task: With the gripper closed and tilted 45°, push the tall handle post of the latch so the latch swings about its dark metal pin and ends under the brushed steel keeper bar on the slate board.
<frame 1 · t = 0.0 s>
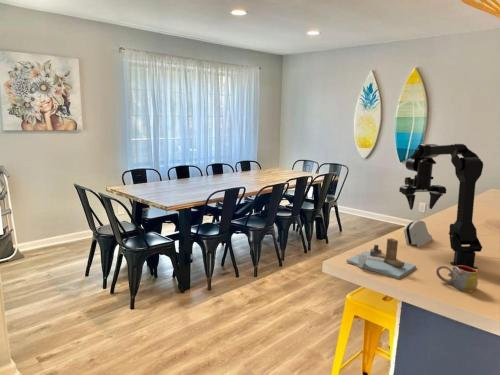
hand: (420, 209, 162), 15 cm above the table, tool pointing down, fingers open, 9 cm apart
latch: (386, 249, 138), point 6 cm above the table, hinge at 0.0°
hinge: (416, 241, 165), on the table
mug: (455, 286, 121), on the table
keeper: (375, 259, 143), resting on board
board: (380, 265, 137), on the table
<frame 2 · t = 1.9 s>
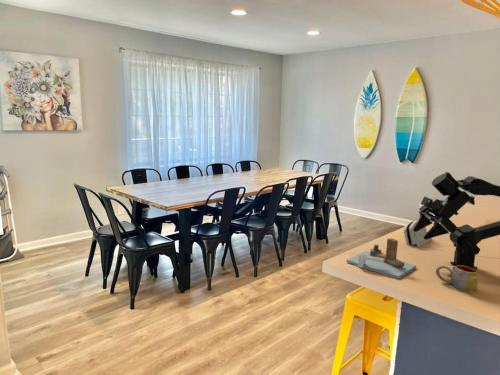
hand: (419, 234, 136), 12 cm above the table, tool tilted 45°, fingers open, 9 cm apart
nothing on the table moved.
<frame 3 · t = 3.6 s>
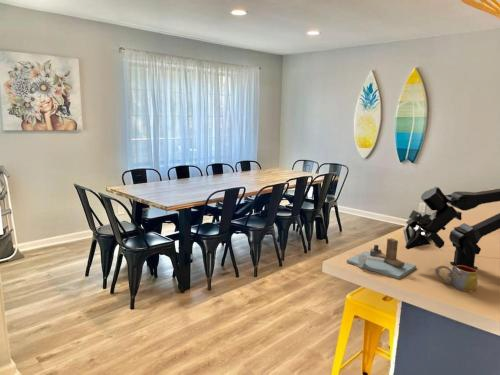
hand: (406, 248, 135), 7 cm above the table, tool tilted 45°, fingers closed
nothing on the table moved.
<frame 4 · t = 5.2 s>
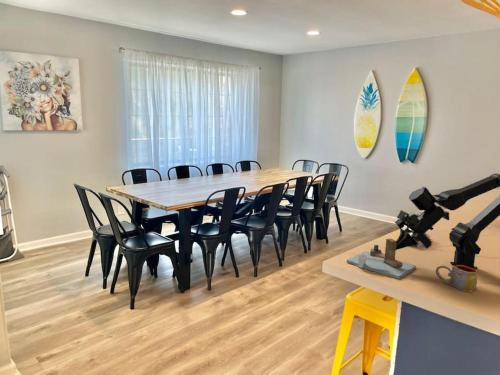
hand: (394, 248, 135), 7 cm above the table, tool tilted 45°, fingers closed
latch: (386, 249, 137), point 6 cm above the table, hinge at 4.4°, touching gripper
everything else where it was.
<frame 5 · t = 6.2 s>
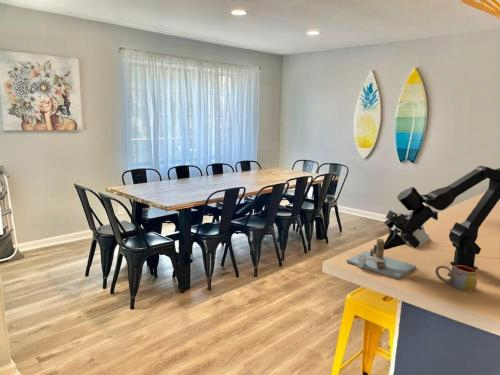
hand: (383, 248, 135), 7 cm above the table, tool tilted 45°, fingers closed
latch: (378, 249, 137), point 6 cm above the table, hinge at 35.5°, touching gripper
everything else where it was.
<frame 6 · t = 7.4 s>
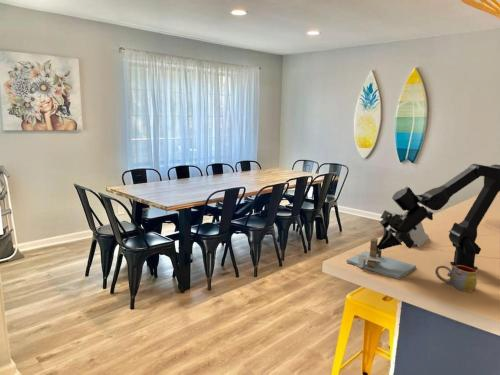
hand: (378, 248, 135), 7 cm above the table, tool tilted 45°, fingers closed
latch: (374, 248, 138), point 6 cm above the table, hinge at 52.2°, touching gripper
everything else where it was.
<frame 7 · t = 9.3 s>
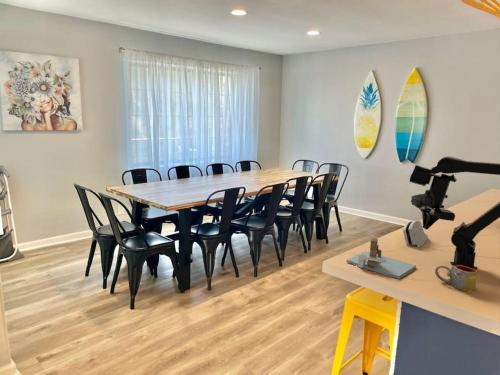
hand: (425, 228, 142), 12 cm above the table, tool pointing down, fingers closed
latch: (374, 248, 138), point 6 cm above the table, hinge at 52.2°
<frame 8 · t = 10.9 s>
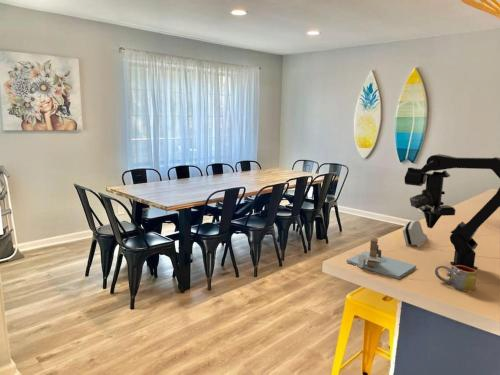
hand: (429, 227, 143), 12 cm above the table, tool pointing down, fingers closed
at the end: latch at +52° (first picture: +0°) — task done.
